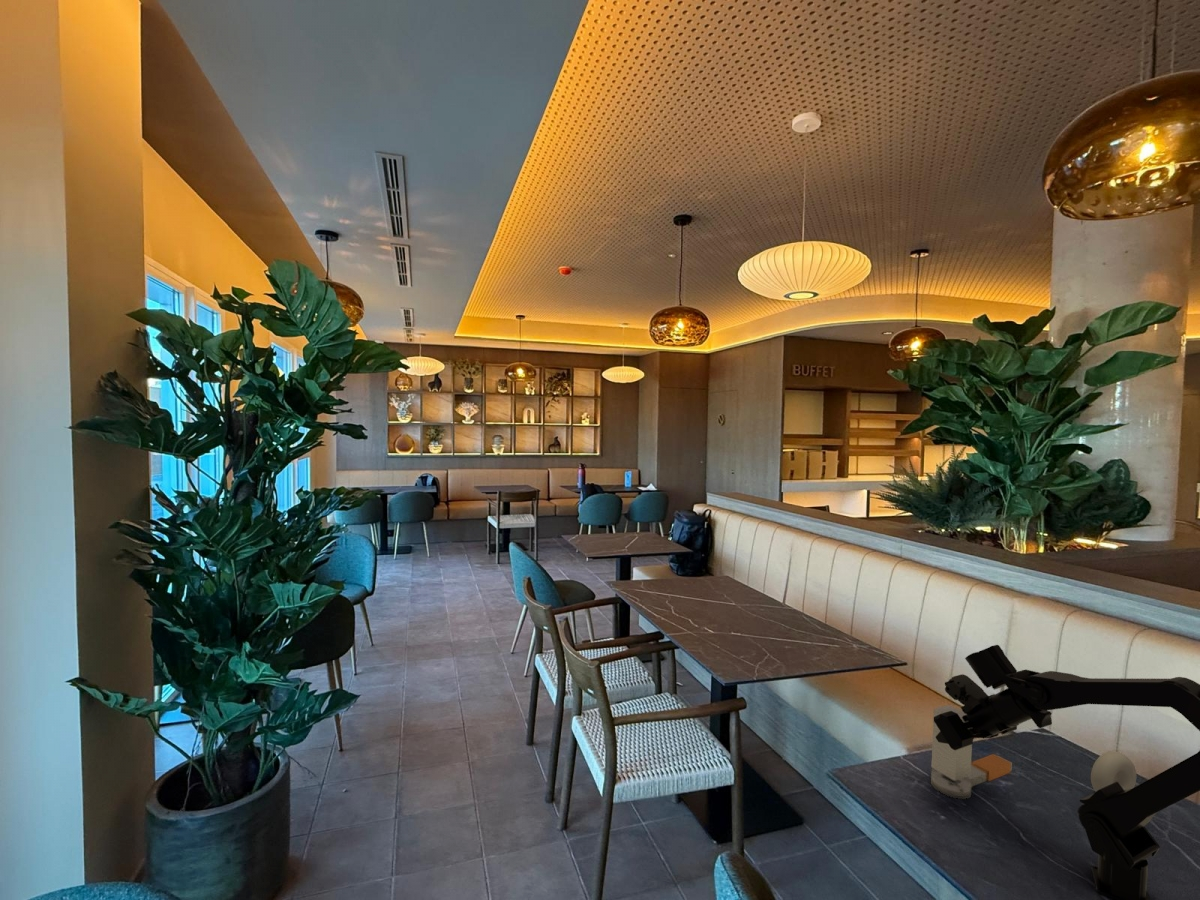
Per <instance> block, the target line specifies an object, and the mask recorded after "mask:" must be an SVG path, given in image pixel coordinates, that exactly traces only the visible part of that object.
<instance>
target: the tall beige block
mask: <svg viewBox="0 0 1200 900" xmlns="http://www.w3.org/2000/svg"><path fill="white" fill-rule="evenodd" d="M949 711H953V712H955V713H957V714H958V715H959V717H960V718H961V720H962V721H963V723H965V722H969V721H964V720H963V719H962V716H964V715H967V714H965V713H964V712H963V711H962V709H961V708H960V709H959V708H957V707H955V706H953V705H951V704H947V705H944V706H938V707H935V708H933V718H932V719H933V720H932V739H931V740H932V742H931V743H932V745H931V747H932V748H931V763H930V764H931V765H930V766H931V768H934V769H935V770H937V771H939V772H941V773H942V774H944V775H946V776H947V777H949V778H951V779H952V780H954V781H957V780H959V779H962V778H965V777H967V776H970V775H971V765H972V753H973V749H972V748H973V744H971V745H969V746H966V747H964V748H961V749H958V750H953V749H952V748H951V747H950V746H949V744H946V743H940V742H938V741H937V739H936V736H937V734H938V733H939V732H940V730H939V728H938V727H937V725H936V724H935V722H934V717H935V716H937V715H939V714H942V713H945V712H949ZM970 729H973V727H972V728H969V729H968V730H970Z"/></svg>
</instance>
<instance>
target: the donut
mask: <svg viewBox="0 0 1200 900" xmlns="http://www.w3.org/2000/svg"><path fill="white" fill-rule="evenodd" d="M1090 781H1091V786H1092V788H1093V790H1094V791H1095V792H1096V791H1098V790H1099V789H1101V788H1103V787H1106V786H1108V785H1110V784H1112V783H1114V782H1118V783H1119V784H1120V786H1121V787H1122V788H1123V790H1128V789H1133V788H1134V787H1136V782H1137V769H1136V765H1135V764H1134V762H1133V761H1132V759H1130V758H1129V756H1127V755H1126V754H1124V753H1123V752H1120V751H1113V750H1112V751H1107V752H1104V753H1102V754H1101V755H1100V756H1098V757H1097V759H1096V760H1095V762H1094V763H1093V766H1092V768H1091V772H1090Z"/></svg>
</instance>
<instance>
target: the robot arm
mask: <svg viewBox="0 0 1200 900" xmlns="http://www.w3.org/2000/svg"><path fill="white" fill-rule="evenodd" d="M964 659H965V661H966V662H967V663H968V665H969V667H970V668H971V669H972V671H973V672H974V674H975V675H976V676H977V677H978V679H979V680H980V682H981V683H982V684H983V686H984V687H985V688H986V689H988V688H990V687H991V688H992V689H993V690H998V689H1001V688H1002V687H1006V689H1005V688H1004V689H1003V690H1001V691H999V692H997V693H995V694H994V693H993V694H990V695H988V694H987V693H986V692H985V690H984V689H983V688H982V687H981V686H979V685H978V684H977V682H975V681H974V680H972V679H971V677H969V676H968V675H966V674H958V675H954V676H952V677H951V678H950V679H948V681H945V682H944V686H945V687H944V690H945V693H946V694H947V695H949V697H951V698H952V699H953V700H954V701H958V702H959V703H960V704H962V706H961V707H960V710H962V711H963V712H964V713H965V714H967V715H964V716H962V719H963V720H964V721H969V722H965V723H963V721H962V720H961V718H960V717H959V715H958V714H957V713H955V712H953V711H949V712H945V713H942V714H939V715H937V716H935V717H934V722H935V724H936V725H937V727H938V728H939V730H940V732H939V733H938V734H937V736H936V739H937V741H938V742H940V743H946V744H949V746H950V747H951V748H952V749H953V750H958V749H961V748H964V747H966V746H969V745H971V744H972V745H973V743H974V740H975V739H977V738H978V739H992V738H996V737H998V736H999V734H1001V735H1005V734H1008V733H1009V734H1010V733H1011V732H1013V731H1016V730H1018V729H1017V728H1018V726H1019V725H1021V724H1023V723H1024V722H1027V721H1029V720H1031V721H1033V723H1034V724H1035V726H1036V727H1037V728H1039V729H1043V728H1045V727H1049V726H1052V724H1053V721H1052V712H1051V711H1053V710H1059V709H1060V710H1061V709H1066V708H1072V707H1077V706H1084V705H1085V706H1086V705H1101V706H1102V705H1103V706H1104V705H1105V706H1132V707H1133V706H1134V707H1135V706H1137V707H1157V708H1158V707H1160V708H1161V707H1162V708H1171V709H1173V710H1175V711H1177V712H1178V713H1179V714H1181V715H1182V717H1184V718H1185V719H1186V720H1187V721H1188V722H1189V723H1190V724H1191V725H1193V726H1194V727H1195V728H1196V729H1197V731H1199V732H1200V683H1198V682H1196V681H1195V680H1192V679H1190V678H1187V677H1182V676H1177V677H1176V676H1175V677H1172V678H1097V677H1095V678H1092V677H1091V678H1089V677H1082V676H1079V675H1076V674H1072V673H1065V672H1059V671H1053V670H1049V671H1048V670H1047V671H1044V672H1038V671H1035V670H1030V669H1021V670H1017V669H1016V667H1015V666H1014V664H1013V663H1012V662H1011V661H1010V660H1009V658H1008V657H1007V655H1006V654H1005V652H1004V650H1003V649H1002V648H1001V646H1000V645H999V644H995V645H990V646H988V647H987V648H984V649H981V650H979V651H975V652H972V653H970V654H968V655H967V656H966V657H965V658H964ZM972 727H973V729H970V730H968V729H969V728H972ZM1197 792H1200V750H1199V751H1198V752H1197V753H1194V754H1193V755H1191V756H1189V757H1187V758H1185V759H1184V760H1182V761H1180V762H1177V763H1176V764H1174V765H1173V766H1171V767H1169V768H1167V769H1166V770H1163V771H1162V772H1160V773H1158V774H1157V775H1155V776H1153V777H1151V778H1149V779H1147V780H1145V781H1144V782H1142V783H1140V784H1139V785H1135V786H1134V788H1133V789H1128V790H1123V788H1122V787H1121V786H1120V784H1119V783H1118V782H1114V783H1112V784H1110V785H1108V786H1106V787H1103V788H1101V789H1099V790H1098V791H1095V792H1093V793H1091V794H1089V795H1087V796H1085V797H1083V798H1081V799H1079V802H1080V803H1081V805H1080V806H1079V807H1078V809H1077V814H1078V819H1079V822H1080V824H1081V826H1082V827H1083V829H1084V830H1085V833H1086V836H1087V839H1088V843H1089V846H1090V849H1091V850H1092V851H1093V853H1095V854H1097V855H1098V858H1097V859H1098V860H1097V865H1096V866H1095V865H1091V871H1092V876H1093V881H1094V884H1095V888H1096V892H1098V893H1099V894H1100V895H1103V896H1105V897H1108V898H1111V899H1114V900H1151V899H1150V896H1149V894H1148V890H1147V885H1148V870H1149V869H1148V867H1149V866H1148V865H1149V863H1148V860H1147V859H1149V858H1151V857H1154V856H1156V854H1157V853H1158V851H1159V850H1160V848H1161V846H1160V844H1159V843H1158V842H1157V840H1156V839H1155V838H1154V836H1153V835H1152V834H1151V832H1150V831H1149V830H1148V829H1147V827H1146V825H1148V823H1150V821H1151V820H1152V819H1153V818H1154V816H1155V815H1156V814H1158V812H1160V811H1163V810H1165V809H1167V808H1168V807H1170V806H1172V805H1174V804H1176V803H1179V802H1180V801H1182V800H1184V799H1186V798H1188V797H1190V796H1192V795H1194V794H1196V793H1197Z"/></svg>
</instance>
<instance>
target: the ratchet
mask: <svg viewBox="0 0 1200 900" xmlns="http://www.w3.org/2000/svg"><path fill="white" fill-rule="evenodd" d="M931 768H932V767H931ZM1012 770H1013V762H1011V761H1010V760H1007V759H1005V758H1003V757H1001V756H999V755H996V754H994V753H992V754H990V755H987V756H984V757H981V758H978V759H976V760H973V761H971V775H970V776H967V777H965V778H962V779H959V780H957V781H954V780H952V779H951V778H949V777H947V776H946V775H944V774H942V773H941V772H939V771H937V770H935V769H934V768H932V769H931V774H930V776H931V779H930V784H931V786H932V787H933V788H934V789H935V790H936V791H937V792H939V791H940V792H941V793H940V792H939V793H940V794H942V793H943V794H942V795H944V794H945V795H944V796H946V795H947V797H949V796H950V798H952V797H953V798H952V799H956V798H958V799H957V800H967V799H970V798H971V795H972V788H973V787H974V786H977V785H980V784H981V783H985V782H990V781H993V780H995V779H998V778H1000V777H1003V776H1005V775H1008V774H1011V772H1012ZM966 798H967V799H966Z"/></svg>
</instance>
